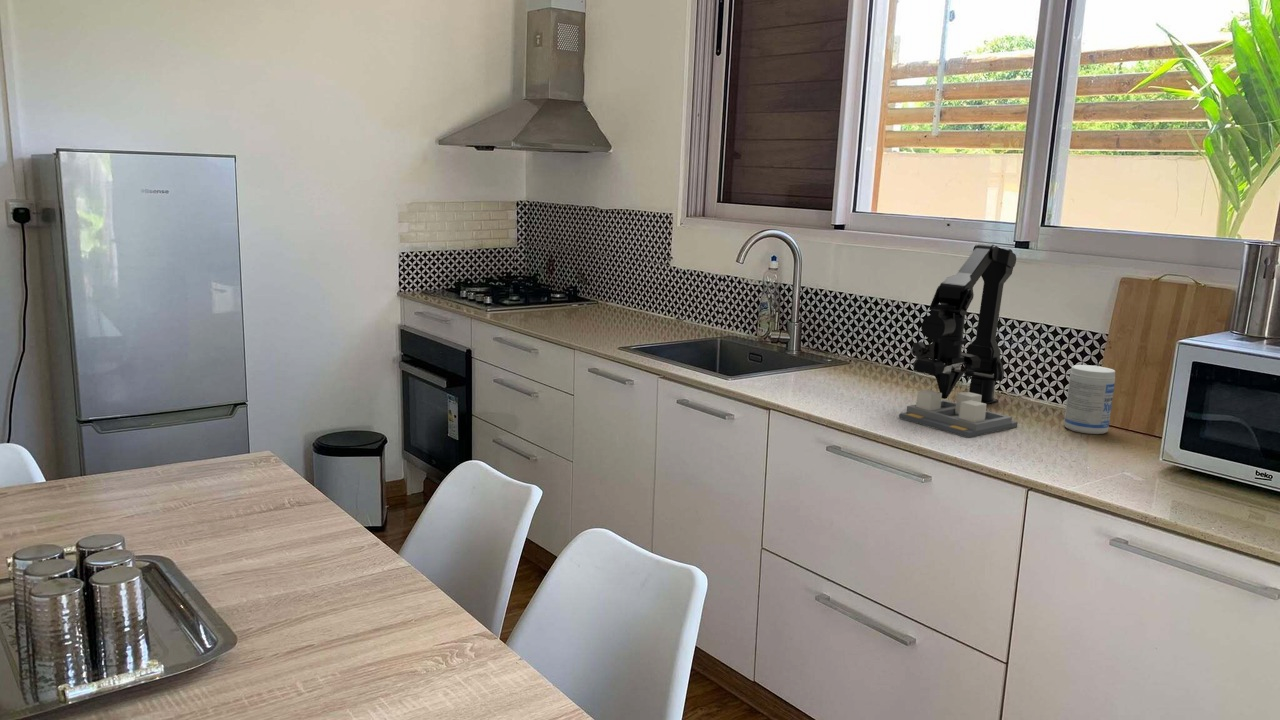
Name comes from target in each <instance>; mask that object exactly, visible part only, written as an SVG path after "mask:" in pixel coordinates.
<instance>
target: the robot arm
mask: <svg viewBox="0 0 1280 720" xmlns="http://www.w3.org/2000/svg"><path fill="white" fill-rule="evenodd" d="M1016 262H1017V255H1016V253H1015V252H1013V250H1012V249H1011V248H1004V247H1003V248H1002V247H999V246H997V245H995V244H990V243H978V244H975V245H974V246H973V249H972V252H971V254H970V255H969V256H968V258H967V259H966V260H965V261H964V263H963V264H962V266H960V268H959V270H958V271H957V273H955V274H953V275H950V276H948V277H946V278H945V279H944V280H942V282H940V284H939V285H938V286H937V288H936V290H935V293H934V296H933V298H932V300H931V303H930V306H929V310H930V315H927V316H925V318H924V319H923V320H922V323H921V325H920V326H921V333H922V334H923V336H924V337H926V338H927V339H929V340H932V341H931V343H929V344H925V343H924V342H923V341H917V342H913V343H912V347H911V354H912V355H913V356H914V357H916V360H914V361H913V369H912V370H913V371H915V372H918V373H923V374H927V375H932V376H934V377H935V379H936V383H937V386H938V390H939V391H938V392H940V393H942V398H941V399H942V400H946V399H948V397H949V395H950V394H951V392H952V391H953V389H954V388H955V386H956V385H957V383H958V382H959V381H960V379H961V377H962V376H965V377H970V382H969V383H970V384H969V389H968V392H971V393H975V394H979V395H982V398H981V403H985V404H993V403H998V402H999V401H1000V400H999V399H997V398H994V397H995V389H996V382H998V381H999V382H1002V381H1003V380H1004V379H1003V378H1004V377H1005V368H1004V365H1003V363H1002V360H1001V349H1000V348H999V345H998V343H997V341H996V337H997V331H998V324H999V319H1000V317H999V316H1000V313H1001V312H1000V311H1001V304H1002V297H1003V290H1004V284H1005V283H1006V282H1007V280H1008V279H1009V278H1010V277H1011V275H1012V274H1013V270H1014V268H1015V266H1016V265H1017V264H1016ZM980 278H982V281H983V286H982V292H981V300H980V308H979V314H978V320H977V321H978V322H977V328H976V336H975V338H974V339H973V341H972V342H971V343H970V344H968V345H967V339H963V338H964V329H965V319H966V317H965V316H966V315H968V308H969V307H970V305H971V303H972V302H973V299H974V295H975V294H974V287H975V285H976V283H977V282H978V281H979V280H980ZM964 345H967V347H966V353H965V352H962V350H963V349H962V347H963V346H964ZM961 366H963V369H962V367H961Z"/></svg>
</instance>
